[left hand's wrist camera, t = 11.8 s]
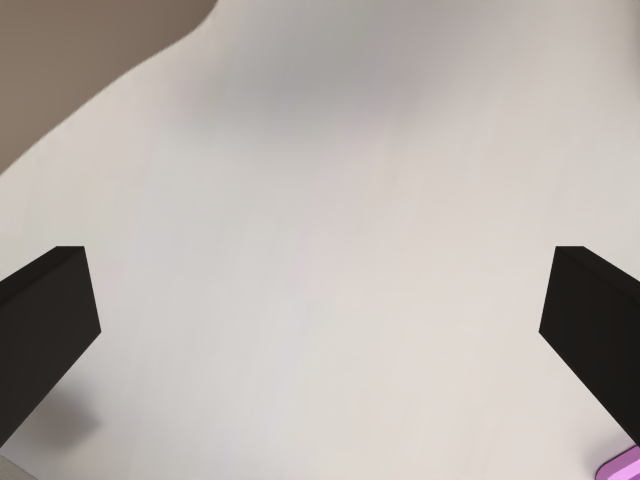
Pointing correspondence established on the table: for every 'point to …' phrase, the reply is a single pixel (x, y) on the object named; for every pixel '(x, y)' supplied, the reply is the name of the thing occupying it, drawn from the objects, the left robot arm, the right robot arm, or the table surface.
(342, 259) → the table surface
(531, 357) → the table surface
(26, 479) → the box
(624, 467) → the bracket
